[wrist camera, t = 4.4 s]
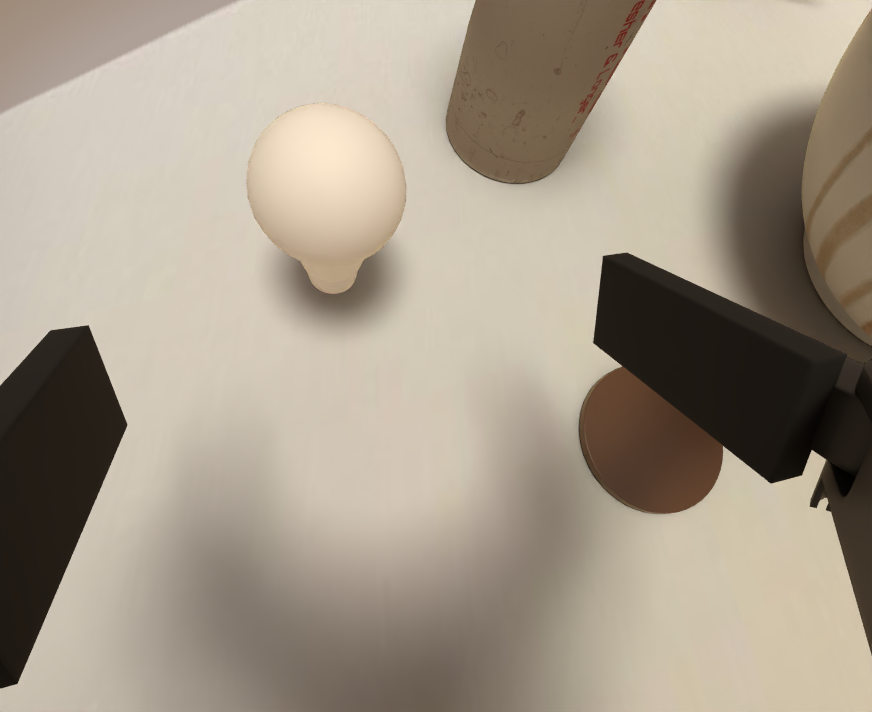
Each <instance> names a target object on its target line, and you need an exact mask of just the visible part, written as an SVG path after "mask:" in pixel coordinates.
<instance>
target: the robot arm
mask: <svg viewBox="0 0 872 712" xmlns="http://www.w3.org/2000/svg"><path fill="white" fill-rule="evenodd" d="M593 343H594V344H595V345H597V346H598V347H599V348H600V349H602V350H603V351H604V352H605V353H607V354H608V355H609V356H610V357H612V358H613V359H614V360H615V361H617V362H618V363H619V364H621V365H622V366H623V367H624V368H626V369H627V370H628V371H629V372H631V373H632V374H633V375H634V376H636V377H637V378H638V379H639V380H641V381H642V382H643V383H645V384H646V385H647V386H648V387H650V388H651V389H652V390H653V391H655V392H656V393H657V394H658V395H660V396H661V397H662V398H663V399H665V400H666V401H667V402H669V403H670V404H671V405H672V406H674V407H675V408H676V409H677V410H679V411H680V412H681V413H682V414H684V415H685V416H686V417H688V418H689V419H690V420H691V421H693V422H694V423H695V424H696V425H698V426H699V427H700V428H701V429H703V430H704V431H705V432H706V433H708V434H709V435H710V436H712V437H713V438H714V439H715V440H717V441H718V442H719V443H720V444H722V445H723V446H724V447H725V448H727V449H728V450H729V451H730V452H732V453H733V454H734V455H736V456H737V457H738V458H739V459H741V460H742V461H743V462H744V463H746V464H747V465H748V466H749V467H751V468H752V469H753V470H754V471H756V472H757V473H758V474H760V475H761V476H762V477H763V478H765V479H766V480H767V481H768V482H770V483H775V482H779V481H782V480H786V479H790V478H794V477H797V476H801V475H802V474H803V471H804V468H805V466H806V463H807V460H808V458H809V455H810V452H811V450H813V451H815V452H816V453H818V454H819V455H820V456H822V457H823V458H825V459H826V462H825V465H824V467H823V470H822V472H821V475H820V477H819V480H818V482H817V485H816V488H815V490H814V493H813V495H812V498H811V501H810V507H814V508H817V506H818V503H819V501H820V500H821V499H823V498H827V499H828V502H829V503H828V505H827V508H826V510H827V511H831V513H832V516H833V520H834V523H835V527H836V531H837V534H838V538H839V541H840V545H841V548H842V552H843V555H844V559H845V562H846V566H847V569H848V573H849V576H850V580H851V584H852V587H853V591H854V594H855V598H856V601H857V605H858V608H859V612H860V615H861V619H862V622H863V626H864V629H865V633H866V637H867V640H868V644H869V647H870V651H871V654H872V359H871V360H869V361H867V362H866V363H865V364H864V365H863V364H861V363H859V362H857V361H855V360H853V359H851V358H848V357H847V354H845V353H842V352H840V351H838V350H836V349H834V348H832V347H830V346H827V345H825V344H823V343H821V342H819V341H817V340H814V339H812V338H810V337H808V336H806V335H804V334H801V333H799V332H797V331H795V330H793V329H791V328H788V327H786V326H784V325H782V324H780V323H778V322H776V321H773V320H771V319H769V318H767V317H765V316H763V315H760V314H758V313H756V312H754V311H752V310H750V309H747V308H745V307H743V306H741V305H739V304H737V303H735V302H732V301H730V300H728V299H726V298H724V297H722V296H719V295H717V294H715V293H713V292H711V291H709V290H706V289H704V288H702V287H700V286H698V285H696V284H693V283H691V282H689V281H687V280H685V279H683V278H681V277H678V276H676V275H674V274H672V273H670V272H668V271H665V270H663V269H661V268H659V267H657V266H655V265H652V264H650V263H648V262H646V261H644V260H642V259H640V258H637V257H635V256H633V255H631V254H629V253H621V254H614V255H606V256H603V262H602V271H601V280H600V288H599V297H598V306H597V315H596V324H595V332H594V341H593ZM126 427H127V422H126V420H125V417H124V415H123V412H122V410H121V407H120V405H119V402H118V399H117V397H116V394H115V392H114V389H113V387H112V384H111V382H110V379H109V376H108V374H107V371H106V369H105V366H104V364H103V361H102V359H101V356H100V353H99V351H98V348H97V346H96V343H95V341H94V338H93V336H92V333H91V330H90V328H89V325H88V326H80V327H73V328H65V329H58V330H51V331H50V332H49V333H48V334H47V335H46V336H45V337H44V338H43V339H42V340H41V342H40V343H39V344H38V345H37V346H36V347H35V348H34V349H33V350H32V351H31V353H30V354H29V355H28V356H27V357H26V358H25V359H24V360H23V361H22V362H21V364H20V365H19V366H18V367H17V368H16V369H15V370H14V371H13V372H12V373H11V375H10V376H9V377H8V378H7V379H6V380H5V381H4V382H3V383H2V384H1V386H0V688H4V687H8V686H11V685H15V684H17V683H18V681H19V679H20V676H21V674H22V672H23V669H24V667H25V665H26V662H27V660H28V658H29V655H30V653H31V651H32V648H33V646H34V644H35V641H36V639H37V636H38V634H39V632H40V629H41V627H42V625H43V622H44V620H45V618H46V615H47V613H48V611H49V608H50V606H51V604H52V601H53V599H54V596H55V594H56V592H57V589H58V587H59V585H60V582H61V580H62V578H63V575H64V573H65V571H66V568H67V566H68V564H69V561H70V559H71V557H72V554H73V552H74V549H75V547H76V545H77V542H78V540H79V538H80V535H81V533H82V531H83V528H84V526H85V524H86V521H87V519H88V517H89V514H90V512H91V510H92V507H93V505H94V502H95V500H96V498H97V495H98V493H99V491H100V488H101V486H102V484H103V481H104V479H105V477H106V474H107V472H108V470H109V467H110V465H111V462H112V460H113V458H114V455H115V453H116V451H117V448H118V446H119V444H120V441H121V439H122V437H123V434H124V432H125V430H126Z"/></svg>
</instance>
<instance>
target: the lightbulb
mask: <svg viewBox="0 0 872 712" xmlns="http://www.w3.org/2000/svg"><path fill="white" fill-rule="evenodd" d="M247 193H248V199H249V202H250V205H251V208H252V211H253V214H254V217H255V219H256V221H257V222H258V224H259V225H260V227H261V229H262V230H263V231H264V233H265V234H266V235H267V236H268V238H269V239H270V240H271V241H272V242H273V243H274V244H275V245H276V246H277V247H278V248H279V249H281V250H282V251H284V252H285V253H287V254H288V255H289V256H291V257H294V258H296V259H298V260H300V261H301V263H302V265H303V267H304V268H305V269H306V270H307V273H308V276H309V278H310V281H311V282H312V284H313V285H314V286H315V287H316V288H317V289H319V290H320V291H322V292H325V293H329V294H337V293H341V292H344V291H346V290H348V289H349V288H350V287H351V286H352V285H353V284H354V282H355V279H356V276H357V272H358V269H359V268H360V266H361V265H362V263H363V260H364V259H366V258H368V257H370V256H372V255H373V254H375V253H376V252H377V251H378V250H380V249H381V248H382V247H383V246H384V245H385V244H386V243H387V241H388V240H389V239H390V238H391V236H392V235H393V233H394V232H395V230H396V228H397V226H398V225H399V223H400V221H401V218H402V214H403V211H404V207H405V201H406V182H405V176H404V171H403V166H402V163H401V161H400V158H399V156H398V154H397V151H396V149H395V147H394V145H393V144H392V142H391V141H390V140H389V138H388V137H387V135H386V134H385V133H384V132H383V131H382V130H381V129H380V128H379V127H378V126H377V125H376V124H375V123H373V122H372V121H371V120H369V119H368V118H367V117H365V116H364V115H362V114H360V113H358V112H356V111H353V110H351V109H349V108H346V107H343V106H339V105H335V104H327V103H316V104H309V105H304V106H300V107H298V108H295V109H292V110H290V111H287V112H286V113H284V114H282V115H281V116H279V117H277V118H276V119H275V120H274V121H273V122H272V123H271V124H270V125H269V126H268V127H267V128H266V129H265V130H264V131H263V132H262V134H261V135H260V136H259V138H258V139H257V141H256V143H255V145H254V148H253V150H252V153H251V156H250V159H249V163H248V170H247Z"/></svg>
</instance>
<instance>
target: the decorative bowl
mask: <svg viewBox="0 0 872 712" xmlns="http://www.w3.org/2000/svg"><path fill="white" fill-rule="evenodd" d="M802 207H803V218H804V224H805V231H804V239H803V249H804V257H805V262H806V266H807V270H808V273H809V275H810V278H811V280H812V283H813V285H814V287H815V289H816V291H817V292H818V294H819V296H820V297H821V299H822V301H823V302H824V303H825V305H826V306H827V308H828V309H829V310H830V311H831V313H832V314H833V315H834V316H835V317H836V318H837V319H838V321H839V322H840V323H841V324H842V325H844V326H845V327H846V328H847V329H848V330H849V331H850V332H852V333H853V334H854V335H855V336H857V337H858V338H859V339H861V340H862V341H864V342H866V343H867V344H869V345H871V346H872V9H871V10H870V12H869V13H868V15H867V16H866V18H865V19H864V21H863V23H862V24H861V26H860V27H859V29H858V31H857V32H856V34H855V36H854V37H853V39H852V41H851V42H850V44H849V46H848V48H847V49H846V51H845V53H844V55H843V56H842V58H841V60H840V62H839V64H838V66H837V68H836V70H835V72H834V74H833V76H832V78H831V80H830V82H829V84H828V87H827V89H826V91H825V94H824V96H823V98H822V101H821V103H820V106H819V109H818V111H817V114H816V117H815V120H814V123H813V127H812V130H811V134H810V137H809V141H808V146H807V150H806V156H805V161H804V168H803V180H802Z"/></svg>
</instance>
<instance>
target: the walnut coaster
mask: <svg viewBox="0 0 872 712" xmlns="http://www.w3.org/2000/svg"><path fill="white" fill-rule="evenodd" d="M579 431H580V441H581V445H582V450H583V453H584V456H585V459H586V461H587V463H588V465H589V467H590V469H591V471H592V472H593V474H594V476H595V477H596V479H597V480H598V481H599V482H600V484H601V485H602V486H603V487H604V488H605V489H606V490H607V491H608V492H609V493H610V494H611V495H612V496H614V497H615V498H616V499H617V500H619V501H621V502H622V503H624V504H626V505H627V506H630V507H632V508H634V509H637V510H640V511H643V512H648V513H654V514H666V513H675V512H680V511H683V510H686V509H688V508H690V507H692V506H694V505H696V504H697V503H698V502H700V501H701V500H702V499H703V498H704V497H705V496H706V495H707V494H708V493H709V492H710V490H711V489H712V488H713V486H714V484H715V482H716V480H717V479H718V476H719V473H720V470H721V465H722V458H723V445H722V444H720V443H719V442H718V441H717V440H715V439H714V438H713V437H712V436H710V435H709V434H708V433H706V432H705V431H704V430H703V429H701V428H700V427H699V426H698V425H696V424H695V423H694V422H693V421H691V420H690V419H689V418H688V417H686V416H685V415H684V414H682V413H681V412H680V411H679V410H677V409H676V408H675V407H674V406H672V405H671V404H670V403H669V402H667V401H666V400H665V399H663V398H662V397H661V396H660V395H658V394H657V393H656V392H655V391H653V390H652V389H651V388H650V387H648V386H647V385H646V384H645V383H643V382H642V381H641V380H639V379H638V378H637V377H636V376H634V375H633V374H632V373H631V372H629V371H628V370H627V369H626V368H624V367H620V368H617V369H615V370H614V371H612V372H610V373H608V374H607V375H605V376H604V377H602V378H601V379H600V380H599V381H598V382H597V383H596V384H595V385H594V386H593V387H592V389H591V390H590V392H589V393H588V395H587V397H586V399H585V401H584V404H583V407H582V410H581V416H580V428H579Z"/></svg>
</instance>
